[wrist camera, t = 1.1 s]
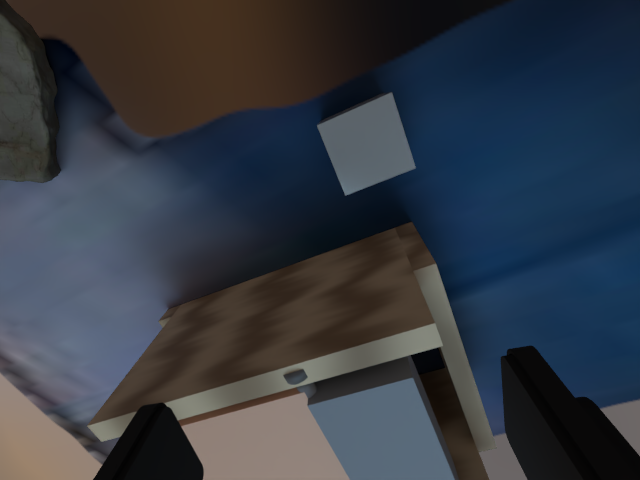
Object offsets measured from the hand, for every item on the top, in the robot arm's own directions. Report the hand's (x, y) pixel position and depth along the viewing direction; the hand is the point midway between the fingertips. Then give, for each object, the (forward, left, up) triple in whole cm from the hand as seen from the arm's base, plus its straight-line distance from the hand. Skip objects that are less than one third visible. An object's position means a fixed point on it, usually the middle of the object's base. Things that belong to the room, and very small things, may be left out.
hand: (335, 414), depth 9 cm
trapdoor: (+7, +13, -11) cm, 18 cm away
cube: (-4, -4, -21) cm, 22 cm away
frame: (+7, +13, -21) cm, 26 cm away
